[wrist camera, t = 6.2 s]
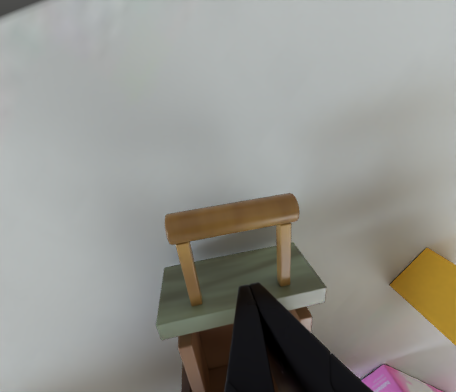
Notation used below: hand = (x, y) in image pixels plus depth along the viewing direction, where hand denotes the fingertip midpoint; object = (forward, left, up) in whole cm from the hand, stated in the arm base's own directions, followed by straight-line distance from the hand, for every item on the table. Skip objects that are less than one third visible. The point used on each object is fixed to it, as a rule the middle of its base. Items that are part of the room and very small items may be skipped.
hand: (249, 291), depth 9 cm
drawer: (-5, +2, -6) cm, 8 cm away
